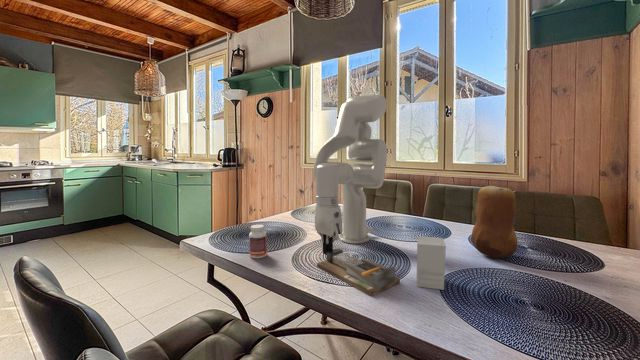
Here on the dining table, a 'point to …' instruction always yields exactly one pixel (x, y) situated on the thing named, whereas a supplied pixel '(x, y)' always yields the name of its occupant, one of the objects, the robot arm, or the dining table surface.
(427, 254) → the supplement box
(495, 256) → the butternut squash
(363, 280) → the wooden board
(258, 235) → the pill bottle
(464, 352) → the dining table surface
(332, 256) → the grey and white block
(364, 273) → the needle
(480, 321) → the dining table surface
